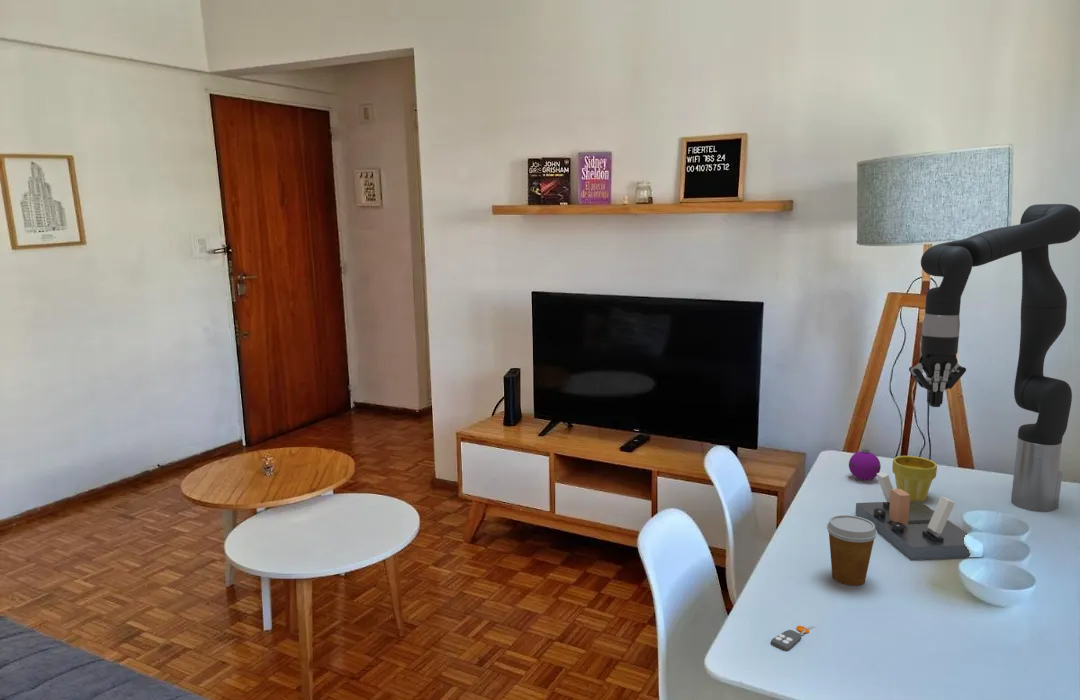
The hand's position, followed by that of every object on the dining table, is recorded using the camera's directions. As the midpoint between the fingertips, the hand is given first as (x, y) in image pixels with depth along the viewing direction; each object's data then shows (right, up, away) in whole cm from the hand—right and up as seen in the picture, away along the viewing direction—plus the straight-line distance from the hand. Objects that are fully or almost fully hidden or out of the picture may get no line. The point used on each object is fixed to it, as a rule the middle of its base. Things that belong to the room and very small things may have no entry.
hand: (934, 406), depth 173 cm
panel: (-5, -30, -1) cm, 30 cm away
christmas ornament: (-1, -23, +35) cm, 42 cm away
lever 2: (-6, -27, -10) cm, 29 cm away
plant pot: (+5, -26, +21) cm, 34 cm away
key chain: (-46, -38, -41) cm, 73 cm away
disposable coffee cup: (-29, -34, -21) cm, 49 cm away
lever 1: (-7, -24, +6) cm, 26 cm away
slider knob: (-9, -27, -2) cm, 28 cm away
